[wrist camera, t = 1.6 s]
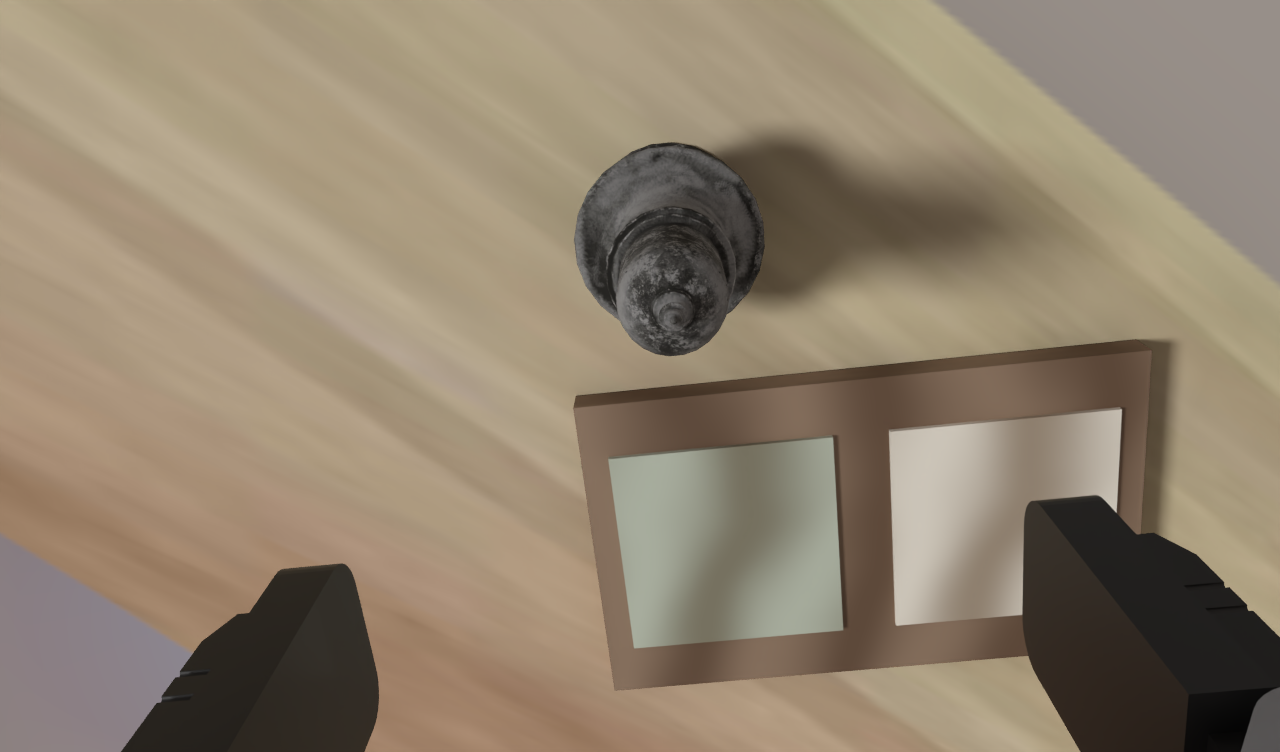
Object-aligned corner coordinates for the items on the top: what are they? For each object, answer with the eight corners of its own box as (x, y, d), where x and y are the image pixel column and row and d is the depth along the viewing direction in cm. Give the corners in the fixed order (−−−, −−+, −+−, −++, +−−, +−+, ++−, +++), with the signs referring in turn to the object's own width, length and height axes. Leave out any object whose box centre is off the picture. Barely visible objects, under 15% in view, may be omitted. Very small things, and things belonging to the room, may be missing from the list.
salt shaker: (778, 163, 33) (840, 237, 22) (722, 324, 35) (752, 468, 24) (610, 110, 33) (585, 158, 22) (562, 276, 35) (517, 400, 24)
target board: (615, 671, 40) (614, 694, 39) (576, 396, 36) (573, 410, 35) (1119, 628, 39) (1136, 649, 38) (1136, 339, 35) (1154, 352, 34)
